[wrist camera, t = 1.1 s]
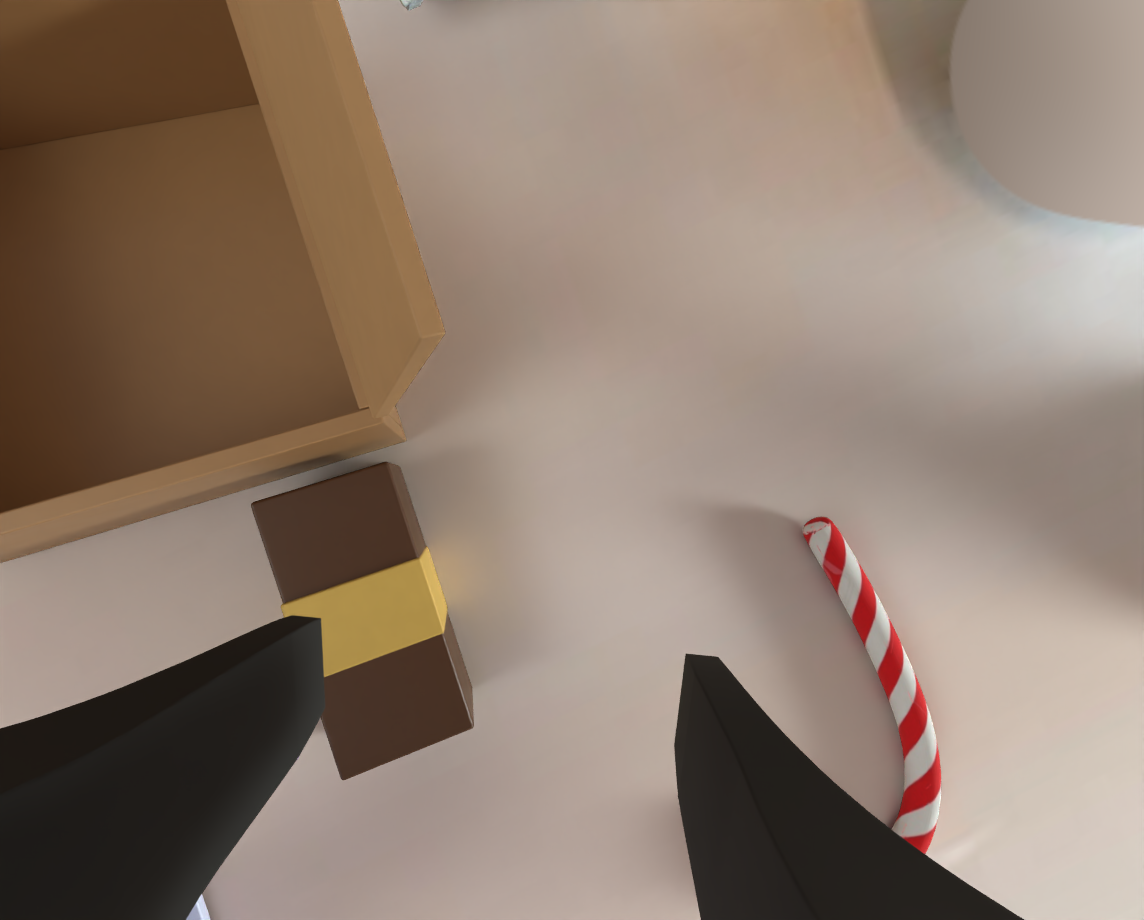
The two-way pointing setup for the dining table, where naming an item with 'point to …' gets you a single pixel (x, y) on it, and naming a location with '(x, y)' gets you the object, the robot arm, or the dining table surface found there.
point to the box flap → (347, 191)
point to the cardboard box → (154, 275)
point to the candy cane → (887, 681)
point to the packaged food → (411, 3)
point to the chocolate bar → (369, 614)
